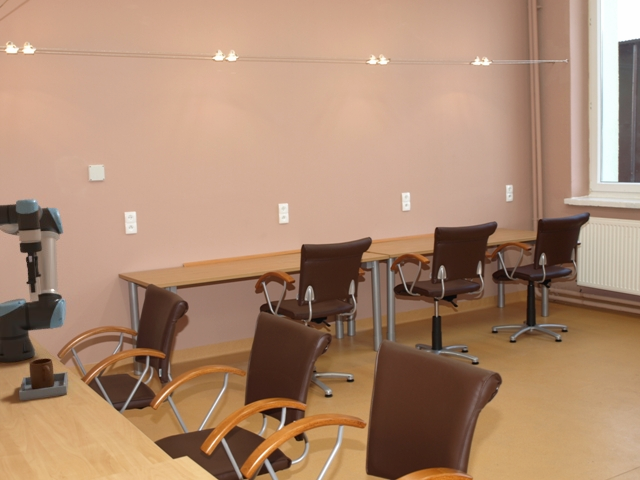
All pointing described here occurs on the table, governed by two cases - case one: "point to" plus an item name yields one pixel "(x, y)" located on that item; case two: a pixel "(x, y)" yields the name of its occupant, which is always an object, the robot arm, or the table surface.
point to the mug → (41, 373)
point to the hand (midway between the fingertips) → (35, 297)
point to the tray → (56, 390)
